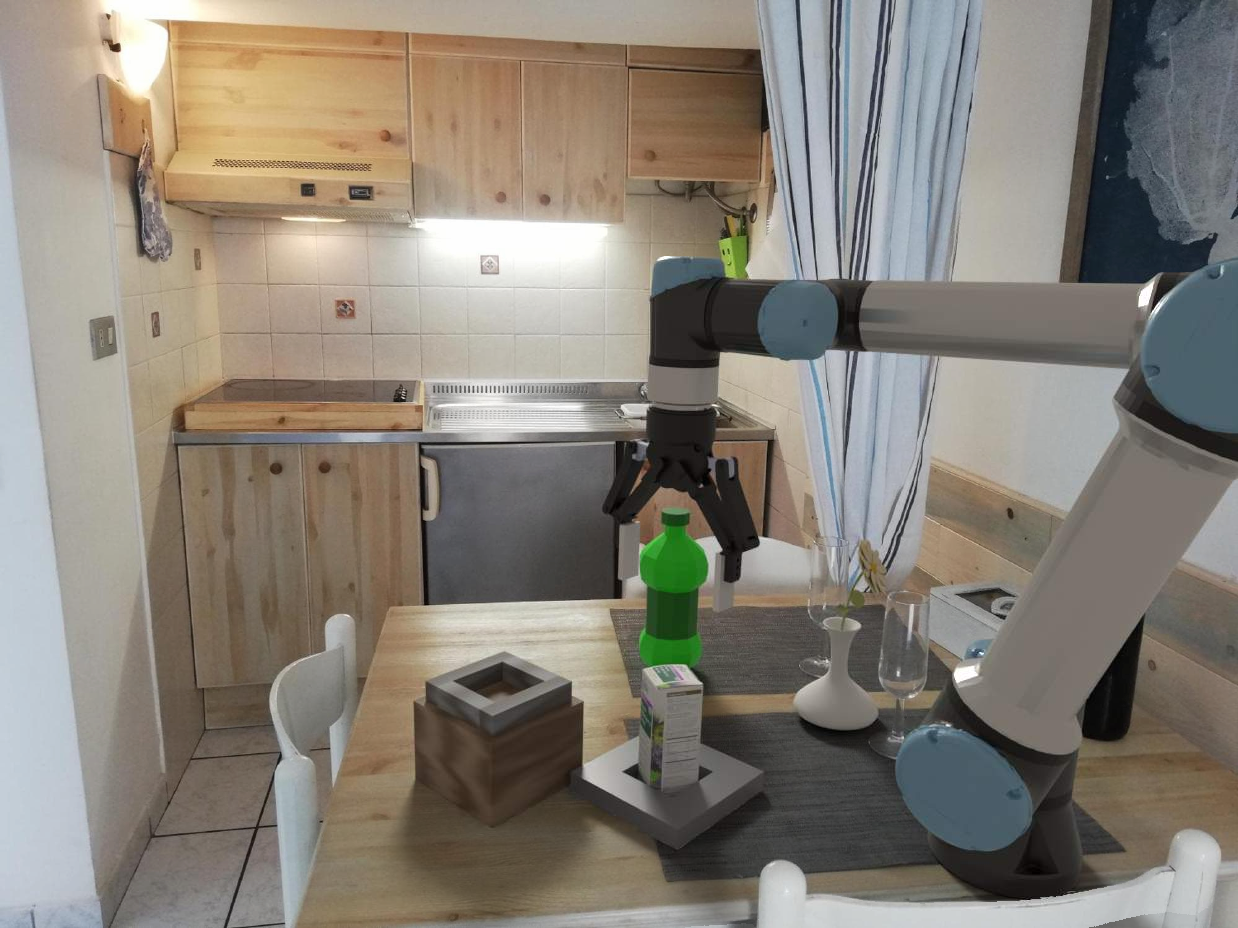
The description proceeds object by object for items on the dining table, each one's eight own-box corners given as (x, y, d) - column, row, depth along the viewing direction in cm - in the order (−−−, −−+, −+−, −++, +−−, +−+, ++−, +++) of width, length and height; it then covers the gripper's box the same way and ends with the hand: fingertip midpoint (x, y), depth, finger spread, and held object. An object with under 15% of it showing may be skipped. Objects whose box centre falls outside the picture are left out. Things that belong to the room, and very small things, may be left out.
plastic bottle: (695, 688, 136) (703, 523, 130) (626, 677, 139) (631, 515, 134) (710, 661, 145) (718, 506, 140) (645, 651, 148) (650, 499, 143)
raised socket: (582, 777, 112) (584, 681, 109) (491, 827, 102) (491, 722, 99) (505, 736, 121) (505, 646, 118) (415, 778, 111) (413, 680, 108)
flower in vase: (842, 747, 120) (858, 563, 115) (775, 713, 129) (786, 540, 123) (901, 718, 128) (918, 544, 123) (834, 688, 137) (847, 524, 132)
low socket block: (762, 790, 110) (763, 771, 109) (677, 850, 98) (678, 829, 98) (658, 742, 120) (659, 724, 120) (570, 791, 109) (570, 771, 108)
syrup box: (635, 779, 111) (638, 667, 108) (682, 772, 113) (686, 661, 110) (651, 806, 106) (655, 688, 103) (700, 798, 108) (705, 682, 104)
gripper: (801, 416, 94) (787, 614, 99) (619, 387, 110) (614, 558, 115) (759, 424, 89) (746, 633, 93) (574, 393, 105) (571, 572, 110)
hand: (673, 592), depth 104 cm, fingers open, 13 cm apart
